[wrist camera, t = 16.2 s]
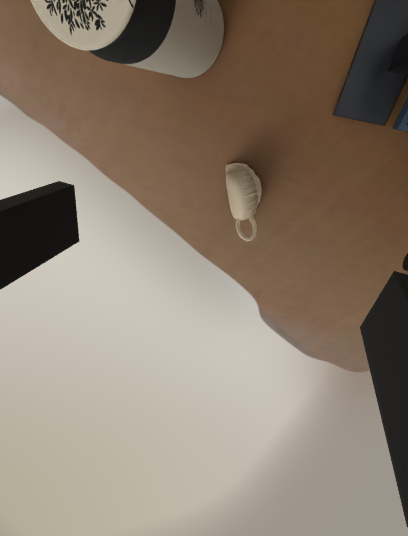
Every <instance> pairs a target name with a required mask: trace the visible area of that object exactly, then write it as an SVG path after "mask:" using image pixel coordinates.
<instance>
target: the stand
mask: <svg viewBox="0 0 408 536" xmlns="http://www.w3.org/2000/svg"><path fill="white" fill-rule="evenodd" d="M407 76H408V0H375V1H374V4H373V7H372V9H371V12H370V15H369V18H368V20H367V23H366V26H365V28H364V31H363V34H362V37H361V39H360V42H359V45H358V47H357V50H356V53H355V56H354V58H353V61H352V64H351V66H350V69H349V72H348V75H347V77H346V80H345V83H344V85H343V88H342V91H341V94H340V96H339V99H338V102H337V105H336V107H335V110H334V113H333V115H336V116H341V117H345V118H350V119H355V120H360V121H364V122H369V123H374V124H379V125H384V126H385V124H386V122H387V120H388V117H389V115H390V113H391V111H392V109H393V107H394V104H395V102H396V100H397V98H398V96H399V94H400V91H401V89H402V87H403V85H404V83H405V81H406V78H407Z"/></svg>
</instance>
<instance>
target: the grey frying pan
mask: <svg viewBox="0 0 408 536" xmlns="http://www.w3.org/2000/svg"><path fill="white" fill-rule="evenodd" d="M403 269H404V270H405V271H408V254H407V255H406V256H405V258H404V261H403Z"/></svg>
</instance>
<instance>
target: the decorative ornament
mask: <svg viewBox="0 0 408 536" xmlns="http://www.w3.org/2000/svg"><path fill="white" fill-rule="evenodd" d="M226 186H227V192H228V198H229V203H230V208H231V212H232V215H233V217H234V218H235V219H236V230H237V233H238V235H239V236H240V237H241V238H242V239H243V240H245V241H251V240H253V239H254V238H255V236H256V234H257V224H256V221H255V219H254V217H253V216H254V215H255V213H256V210H257V206H258V204H259V203H260V197H261V194H262V189H261V182H260V179H259V177H258V176H256V175H255V173H254V170H252V169H250V168H249V167H248V165H246V164H242V163H233V164H228V165H226ZM247 219H249V220H250V222H251V224H252V227H253V233H252V235H251V236H250V237H246V236H245V235H244V234H243V233H242V231H241V228H240V221H243V220H247Z"/></svg>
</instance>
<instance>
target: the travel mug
mask: <svg viewBox="0 0 408 536" xmlns="http://www.w3.org/2000/svg"><path fill="white" fill-rule="evenodd" d="M31 2H32V5H33V7H34V8H35V10H36V12H37V14H38V15H39V17H40V19H41V20H42V21H43V23H44V24H45V25H46V27H47V28H48V29H49V30H50V31H51V32H52V33H53V34H54V35H55V36H56V37H57V38H58V39H60V40H61V41H62V42H64V43H65V44H67V45H69V46H71V47H74V48H76V49H80V50H89V51H90V52H91V53H92V54H94V55H96V56H97V57H99V58H101V59H104V60H107V61H112V62H116V63H121V64H125V65H129V66H134V67H138V68H142V69H147V70H151V71H155V72H160V73H164V74H168V75H173V76H177V77H182V78H193V77H197V76H199V75H201V74H203V73H204V72H206V71H207V70H208V69H209V68H210V67H211V66H212V64H213V63H214V62H215V60H216V58H217V57H218V55H219V52H220V50H221V46H222V43H223V37H224V20H223V14H222V11H221V7H220V5H219V3H218V1H217V0H31Z"/></svg>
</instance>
